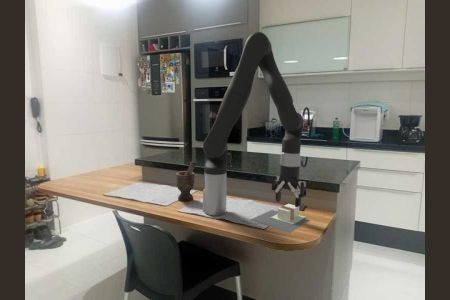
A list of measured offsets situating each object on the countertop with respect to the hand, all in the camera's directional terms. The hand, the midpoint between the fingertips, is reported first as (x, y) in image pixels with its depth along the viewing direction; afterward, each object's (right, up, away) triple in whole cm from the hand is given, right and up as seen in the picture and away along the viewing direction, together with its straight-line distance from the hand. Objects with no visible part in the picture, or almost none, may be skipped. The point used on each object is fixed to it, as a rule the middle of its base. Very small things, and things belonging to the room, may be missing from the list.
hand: (287, 204), depth 119 cm
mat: (-3, -7, -1) cm, 8 cm away
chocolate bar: (+4, -6, +11) cm, 13 cm away
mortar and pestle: (-42, -3, +25) cm, 49 cm away
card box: (+1, -5, +1) cm, 6 cm away
